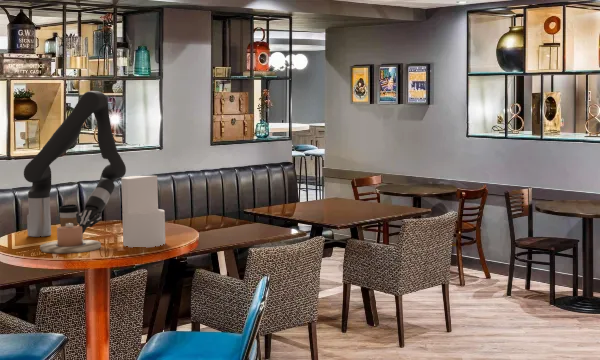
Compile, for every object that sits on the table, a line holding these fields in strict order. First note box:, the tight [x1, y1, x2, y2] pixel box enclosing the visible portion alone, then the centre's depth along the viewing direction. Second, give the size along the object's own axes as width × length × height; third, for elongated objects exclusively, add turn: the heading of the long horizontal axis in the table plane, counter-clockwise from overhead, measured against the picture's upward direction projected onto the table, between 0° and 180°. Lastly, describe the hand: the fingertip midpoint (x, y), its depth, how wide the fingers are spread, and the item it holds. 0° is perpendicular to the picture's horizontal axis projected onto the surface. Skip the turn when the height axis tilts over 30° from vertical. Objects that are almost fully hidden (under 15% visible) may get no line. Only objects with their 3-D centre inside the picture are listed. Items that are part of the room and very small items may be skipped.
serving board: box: [39, 239, 102, 254], centre depth 340 cm, size 24×24×2 cm
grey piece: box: [120, 175, 166, 248], centre depth 347 cm, size 17×17×28 cm
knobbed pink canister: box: [56, 223, 84, 247], centre depth 339 cm, size 10×10×9 cm
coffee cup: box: [58, 204, 79, 227], centre depth 360 cm, size 8×8×15 cm
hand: (79, 233), depth 344 cm, fingers closed
